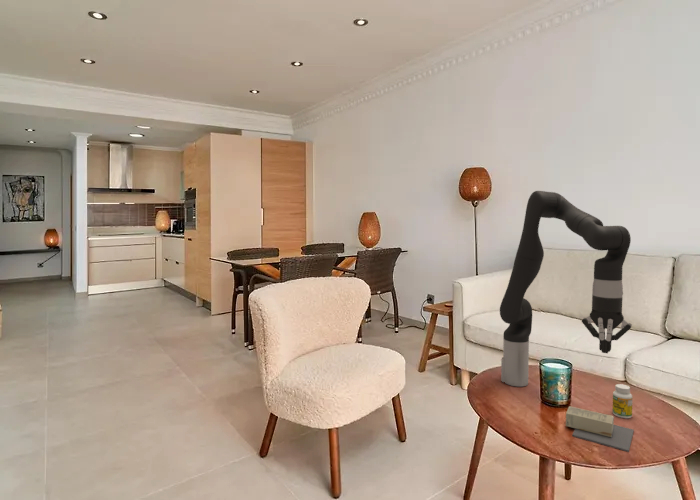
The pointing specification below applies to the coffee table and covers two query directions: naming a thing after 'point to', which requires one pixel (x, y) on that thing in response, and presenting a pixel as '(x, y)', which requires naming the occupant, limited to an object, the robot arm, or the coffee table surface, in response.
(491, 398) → the coffee table surface
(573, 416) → the skincare box
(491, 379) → the coffee table surface
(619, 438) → the mat
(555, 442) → the coffee table surface
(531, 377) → the coffee table surface
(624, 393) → the supplement bottle
